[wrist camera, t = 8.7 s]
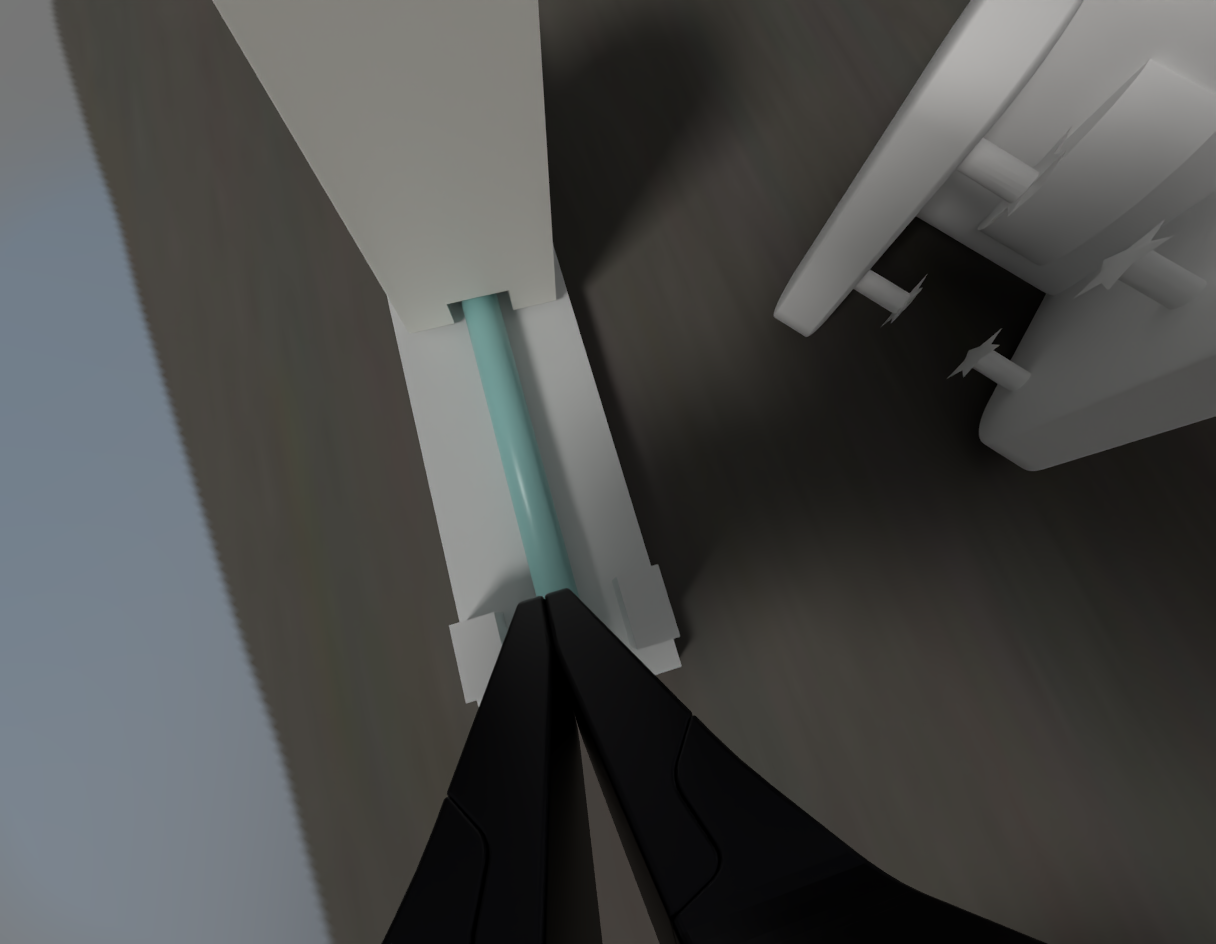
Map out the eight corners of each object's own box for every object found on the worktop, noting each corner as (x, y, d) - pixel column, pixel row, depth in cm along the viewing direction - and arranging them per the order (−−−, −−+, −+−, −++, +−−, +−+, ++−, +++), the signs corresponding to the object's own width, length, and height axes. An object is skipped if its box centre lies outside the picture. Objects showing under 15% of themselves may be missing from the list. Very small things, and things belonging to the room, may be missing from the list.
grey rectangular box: (556, 300, 19) (528, -154, 8) (409, 333, 19) (149, -106, 7) (520, 180, 20) (450, -371, 9) (380, 208, 20) (116, -344, 8)
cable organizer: (925, 83, 24) (1228, -375, 13) (1148, 210, 23) (1685, -167, 12) (749, 339, 21) (956, 14, 10) (1002, 501, 20) (1568, 352, 9)
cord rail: (676, 663, 18) (713, 682, 13) (489, 723, 17) (454, 766, 12) (494, 66, 23) (473, -79, 18) (346, 91, 22) (283, -53, 18)
